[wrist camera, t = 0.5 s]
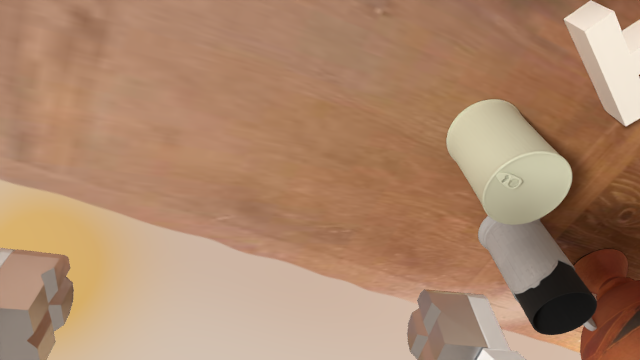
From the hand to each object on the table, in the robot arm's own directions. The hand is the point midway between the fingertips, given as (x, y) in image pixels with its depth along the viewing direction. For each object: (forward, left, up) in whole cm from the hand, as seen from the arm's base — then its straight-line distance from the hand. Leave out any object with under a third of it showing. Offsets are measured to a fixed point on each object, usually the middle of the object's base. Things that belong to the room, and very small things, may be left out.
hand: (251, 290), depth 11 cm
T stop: (+5, +39, -40) cm, 56 cm away
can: (+16, +28, -40) cm, 51 cm away
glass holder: (+33, +38, -40) cm, 64 cm away
